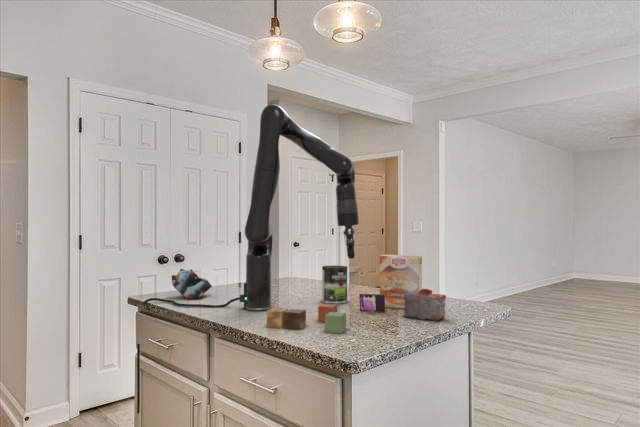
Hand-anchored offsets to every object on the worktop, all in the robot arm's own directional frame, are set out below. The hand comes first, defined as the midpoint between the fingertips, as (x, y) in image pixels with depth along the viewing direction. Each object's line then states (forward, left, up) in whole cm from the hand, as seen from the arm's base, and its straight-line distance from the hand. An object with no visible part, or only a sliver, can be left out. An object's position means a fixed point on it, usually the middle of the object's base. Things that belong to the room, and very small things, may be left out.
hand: (350, 257), depth 160 cm
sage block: (+3, -28, -20) cm, 34 cm away
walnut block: (-10, -28, -20) cm, 35 cm away
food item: (+26, -1, -20) cm, 33 cm away
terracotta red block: (-3, -16, -20) cm, 25 cm away
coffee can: (-12, +18, -20) cm, 29 cm away
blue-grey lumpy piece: (-72, +6, -20) cm, 75 cm away
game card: (+7, +2, -20) cm, 21 cm away
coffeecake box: (+15, +16, -20) cm, 30 cm away
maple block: (-16, -28, -20) cm, 38 cm away
